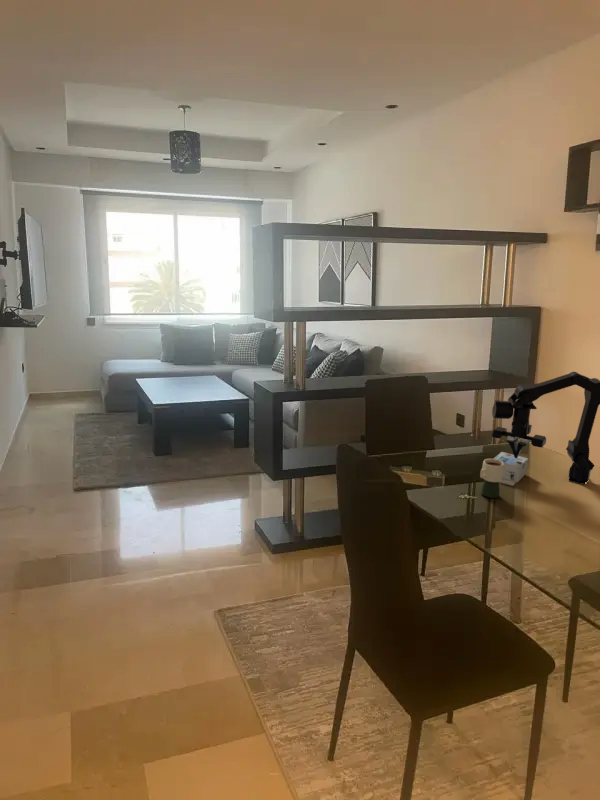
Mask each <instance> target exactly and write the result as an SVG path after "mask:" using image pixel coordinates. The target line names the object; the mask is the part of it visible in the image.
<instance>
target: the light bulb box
mask: <svg viewBox="0 0 600 800" xmlns="http://www.w3.org/2000/svg"><path fill="white" fill-rule="evenodd" d="M493 459H497V460H500V461H502V462H503V463H504V465H505V470H504V473H503V478H504V479H507V480H511V481H514V482H516V483H518V482H520V480H521V479H522V478H523V477H524V476H525V475H526V474H527V471H528V465H529V458H527V457H524V456H521V455H519V456H518V458H515V457H514V454H513V453H508V452H504V451H501V452H499V454H497V455H496V456H495V457H494V458H493Z"/></svg>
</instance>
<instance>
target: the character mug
mask: <svg viewBox="0 0 600 800" xmlns="http://www.w3.org/2000/svg"><path fill="white" fill-rule="evenodd" d="M504 470H505V465H504V463H503V462H502V461H500V460H497V459H494V458H485V459H484V460H483V462H482V467H481V469H480V473H479V476H480V479H483V483H482V487H481V491H480V493H481V495H482V496H485V497H487V498H491V499H497V498H498V497H499V496H500V481H501V480H502V478H503V473H504Z"/></svg>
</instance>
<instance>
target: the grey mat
mask: <svg viewBox="0 0 600 800" xmlns="http://www.w3.org/2000/svg"><path fill="white" fill-rule="evenodd" d="M516 483H517V482H514V481H511V480H507V479H504V478H502V480H501V481H500V482H499V484H503V485H508V486H513V487H514V485H515V484H516Z"/></svg>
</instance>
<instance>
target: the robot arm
mask: <svg viewBox="0 0 600 800" xmlns="http://www.w3.org/2000/svg"><path fill="white" fill-rule="evenodd" d="M572 386H578V387H580V388H581V389H584V393H583V394H584V406H583V409H582V413H581V416H580V420H579V423H578V427H577V431H576V434H575V437H574V439H573V440H570V439H569V440H568V442H567V447H566V448H565V450H566V451H567V455H568V457H569V459H571V461H572V462H573V463H572V464H571V466H570V467H569V470H568V482H573V483H577V484H581V485H584V484H585V482H587V481H588V480H589V478H590V477H591V471H592V470H593V469H594V467H595V464H594V463H593V462H592V461H591V460H590V459H589V458H590V445H589V443H590V442H589V441H590V438H591V435H592V430H593V427H594V424H595V419H596V415H597V412H598V409H599V406H600V379H598V378H597V377H593V378H590V377H588V376H585V375H583V374H580V373H579V372H577V371H571V372H569V373H567V374H564V375H561V376H557V377H555V378H552V379H547V380H546V381H542V382H539V383H538V382H537V383H525V384H520V385H518V386H516V387H515V390H514V392H513V393H512V394H511V396H510V397H508V399H507V400H499V399H496V400H494V403H493V406H492V409H491V411H492V412H491V414H492V418H493V419H501V420H502V419H503V420H508V419H511V418H512V421H511V431H508V429H507V428H506V427H502V426H497V427H495V428H494V429H493V430H492V432H491V438H495V439H501V438H503V437H507V438H506V439H507V440H506V443H508V444H509V446H510V449H511V451H512V455H514V457H515V458H518V456H520V453H521V451H522V450H523V448H524V447H527V446H528V445H529V443H530V444H531V446H533V447H538V448H543V447H544V446H545V445H546V443H547V437H546V436H545V435H540V434H535V435H534V436H530V434H531V431H532V427H533V425H532V424H530V417H531V410H537V408H538V407H536V405H535V404H534V403H533V402H535V401H536V400H538V399H539V398H540V397H542V396H544V395H546V394H550V393H553V392H556V391H560V390H563V389H566V388H569V387H572ZM590 479H591V478H590Z"/></svg>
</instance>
